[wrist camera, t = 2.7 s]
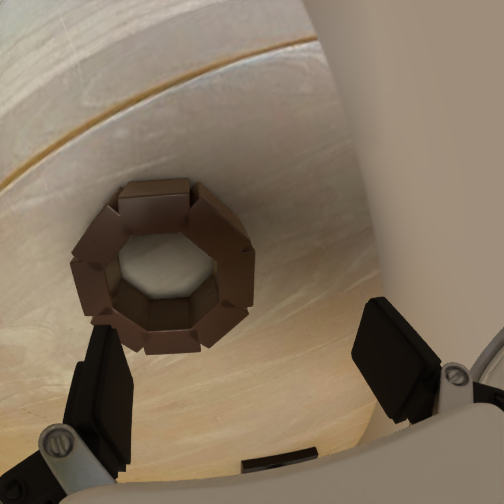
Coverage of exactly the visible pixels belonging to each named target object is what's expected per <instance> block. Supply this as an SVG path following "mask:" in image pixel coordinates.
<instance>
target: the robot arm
mask: <svg viewBox="0 0 504 504" xmlns="http://www.w3.org/2000/svg"><path fill="white" fill-rule="evenodd" d="M351 355H352V359H353V361H354V362H355V364H356V366H357V367H358V369H359V370H360V372H361V374H362V375H363V377H364V379H365V380H366V382H367V383H368V385H369V387H370V388H371V390H372V392H373V393H374V395H375V396H376V398H377V400H378V401H379V403H380V405H381V406H382V408H383V409H384V411H385V413H386V414H387V416H388V417H389V418H390V419H393V421H394V423H395V424H397V423H399V422H402V421H405V420H406V419H407V418H408V420H409V421H410V423H409V427H407V428H404V429H402V430H399V431H397V432H395V433H392V434H390V435H387V436H384V437H382V438H379V439H377V440H374V441H371V442H368V443H365V444H363V445H359V446H357V447H353V448H350V449H347V450H344V451H341V452H338V453H334V454H331V455H328V456H324V457H320V458H317V459H313V460H309V461H305V462H301V463H297V464H292V465H288V466H283V467H279V468H274V469H268V470H263V471H257V472H252V473H245V474H239V475H231V476H223V477H214V478H204V479H192V480H178V481H154V482H127V483H118V482H117V481H116V480H115V479H116V478H118V472H126V464H130V462H131V427H132V406H133V391H134V383H133V378H132V375H131V372H130V369H129V366H128V364H127V360H126V357H125V354H124V351H123V348H122V345H121V342H120V338H119V335H118V332H117V329H116V328H112V327H111V325H110V324H106V325H95V326H94V328H93V331H92V335H91V338H90V342H89V345H88V349H87V353H86V357H85V360H84V361H79V362H78V363H77V365H76V368H75V371H74V375H73V379H72V383H71V387H70V391H69V395H68V400H67V404H66V409H65V413H64V418H63V423H57V424H52V425H50V426H48V427H47V428H45V429H44V430H43V431H42V433H41V434H40V437H39V440H38V447H39V450H38V451H36V452H35V453H34V454H32V455H31V456H29V457H28V458H26V459H25V460H23V461H22V462H20V463H19V464H17V465H16V466H15V467H13V468H12V469H10V470H9V471H7V472H6V473H4V474H3V475H2V476H1V477H0V504H504V345H503V346H502V348H501V349H500V350H499V351H498V352H497V353H496V355H495V356H494V357H493V358H492V360H491V361H490V362H489V364H488V365H487V367H486V368H485V370H484V371H483V373H482V375H481V377H480V379H479V382H474V381H472V375H471V373H470V371H469V370H468V369H467V368H466V367H465V366H463V365H461V364H459V363H454V362H451V363H447V364H445V365H444V366H443V367H441V366H440V363H441V360H440V358H439V357H438V356H437V355H436V354H435V353H434V351H433V350H432V349H431V348H430V347H429V346H428V344H427V343H426V342H425V341H424V340H423V339H422V338H421V337H420V335H419V334H418V333H417V332H416V331H415V330H414V329H413V327H412V326H411V325H410V324H409V323H408V322H407V321H406V320H405V319H404V318H403V316H402V315H401V314H400V313H399V312H398V311H397V310H396V309H395V308H394V307H393V306H392V304H391V303H390V302H389V301H388V300H387V299H386V298H385V297H376V298H371V299H370V300H369V301H368V303H366V304H365V307H364V311H363V314H362V318H361V321H360V325H359V328H358V332H357V335H356V338H355V342H354V345H353V348H352V352H351Z"/></svg>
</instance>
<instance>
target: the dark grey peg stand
mask: <svg viewBox="0 0 504 504" xmlns="http://www.w3.org/2000/svg"><path fill="white" fill-rule="evenodd" d="M318 455H319V454H318V452H317V449H316V447H314V448H310V449H306V450H301V451H297V452H292V453H287V454H282V455H277V456H272V457H266V458H260V459H254V460H247V461H242V474H245V473H252V472H257V471H263V470H268V469H274V468H279V467H283V466H288V465H292V464H297V463H301V462H305V461H309V460H313V459H317V457H318Z"/></svg>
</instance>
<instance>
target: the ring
mask: <svg viewBox="0 0 504 504" xmlns="http://www.w3.org/2000/svg"><path fill="white" fill-rule="evenodd" d="M178 232H181V233H182V234H184V235H185V236H186V237H187V238H189V239H190V240H191V241H192V242H193V243H195V244H196V245H197V246H198V247H199V248H201V249H202V250H203V251H204V252H206V253H207V254H208V255H209V256H211V257H212V258H213V275H212V276H211V277H209V278H208V279H207V280H206V281H205V282H204V283H203V284H202V285H201V286H200V287H199V288H198V289H197V290H196V291H195V292H194V293H193V294H192V295H191V296H190V297H189V298H178V299H162V300H151V299H149V298H148V297H147V296H145V295H144V294H142V293H141V292H140V291H138V290H137V289H135V288H134V287H133V286H131V285H130V284H128V283H127V282H126V281H124V280H123V279H122V275H121V270H120V265H119V259H118V251H119V250H120V249H121V248H122V246H123V245H124V244H125V243H126V242H127V240H128V239H129V238H130V237H131V236H132V235H147V234H162V233H178ZM72 255H74V257H73V259H72V260H71V262H70V266H71V270H72V274H73V277H74V281H75V285H76V288H77V292H78V295H79V299H80V302H81V306H82V309H83V312H84V315H85V316H92V319H91V324H92V325H94V326H95V325H106V324H110V325H111V327H112V328H116V329H117V332H118V335H119V338H120V342H121V343H122V344H123V345H125V346H126V347H128V348H130V349H131V350H133V351H135V352H138V351H139V350H141V349H142V348H143V347H144V351H145V354H146V355H159V354H178V353H194V352H201V346H200V344H202V345H203V346H205V347H207V348H210V347H212V346H213V345H214V344H215V343H216V342H218V341H219V340H220V339H221V338H222V337H223V336H225V335H226V334H227V333H228V332H229V331H230V330H232V329H233V328H234V327H235V326H236V325H237V324H238V323H240V322H241V321H242V320H243V319H244V318H245V317H247V316H248V315H249V312H248V309H247V307H252V306H253V300H254V272H255V250H254V248H253V246H252V244H251V241H250V239H249V237H248V234H247V232H246V230H245V228H244V226H243V224H242V222H241V220H240V219H239V218H238V217H237V216H236V215H235V214H234V213H233V212H232V211H231V210H230V209H228V208H227V207H226V206H225V205H224V204H223V203H222V202H221V201H220V200H219V199H218V198H216V197H215V196H214V195H213V194H212V193H211V192H210V191H209V190H208V189H207V188H205V187H204V186H203V185H202V184H201V183H200V182H198V183H196V184H195V185H194V187H193V188H192V189H191V190H190V180H189V179H188V178H184V179H167V180H152V181H139V182H129V183H128V184H127V186H126V187H125V188H124V189H122V188H121V187H120V188H119V189H118V190H117V191H116V192H115V193H114V195H113V196H112V197H111V198H110V200H109V201H108V202H107V203H106V205H105V206H104V207H103V209H102V210H101V211H100V213H99V214H98V215H97V217H96V218H95V219H94V221H93V222H92V223H91V225H90V226H89V228H88V229H87V230H86V232H85V233H84V235H83V236H82V237H81V239H80V240H79V242H78V243H77V245H76V246H75V248H74V249H73V251H72Z"/></svg>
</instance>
